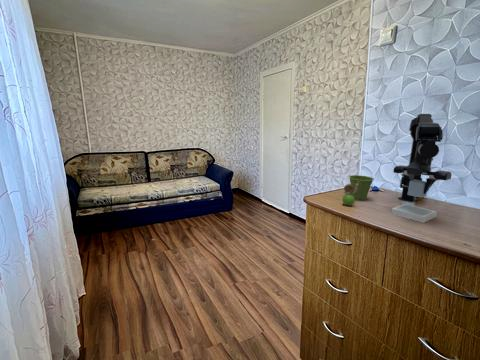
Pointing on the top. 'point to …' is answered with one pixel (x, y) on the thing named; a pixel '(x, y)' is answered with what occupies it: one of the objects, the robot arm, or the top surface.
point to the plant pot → (361, 186)
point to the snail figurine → (349, 194)
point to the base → (414, 213)
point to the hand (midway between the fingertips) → (417, 192)
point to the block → (416, 188)
